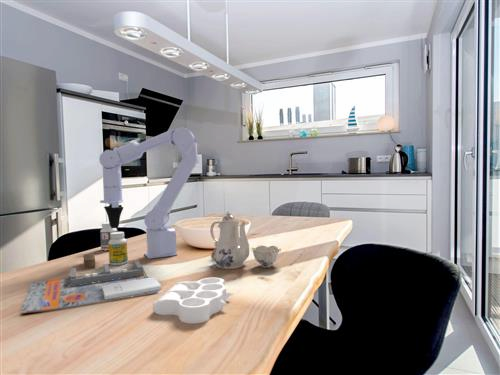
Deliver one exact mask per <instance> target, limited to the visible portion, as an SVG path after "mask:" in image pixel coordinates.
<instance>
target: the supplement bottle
mask: <svg viewBox="0 0 500 375" xmlns="http://www.w3.org/2000/svg"><path fill="white" fill-rule="evenodd" d="M110 237H111V240H110V241H109V243H108V245H109V251H108V257H109V258H108V260H109V262H108V264H109V265H110V266H122V265H126V264H127V263H128V262H129V260H128V259H129V258H128V240H127V239H126V238H125V232H124V231H117V232H113V233H110Z"/></svg>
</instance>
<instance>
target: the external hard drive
mask: <svg viewBox="0 0 500 375" xmlns="http://www.w3.org/2000/svg"><path fill="white" fill-rule="evenodd" d="M158 281H159V280H157V279H156V278H155V276H152V277H146V278H140V279H139V278H138V279H134V280H128V281H121V282H116V283H110V284H104V285H103V284H101V291H102V294H103V298H104V300H110V299H115V298H122V297H128V296H133V295H138V294H144V292H145V293H149V291H150V292H156V291H161V290H162V285H161V283H160V282H158Z"/></svg>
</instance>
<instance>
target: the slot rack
mask: <svg viewBox="0 0 500 375" xmlns="http://www.w3.org/2000/svg"><path fill="white" fill-rule="evenodd" d="M132 264H133V268H134V269H129V270H128V269H127V268H123V269H122V271H115V272H112V271H111V269H110V266H109V265H110V264H109V263H105V264H104V263H103V273H101V274H98V273H97V272H94V273H92V275H91V274H90V273H87V274H85V276H82V277H81V276H79V277H77V268H76V267H72V268H70V287H74V286H73V285H77V286H81V285H80V284H83V285H86V284H85V283H90V284H93V283H92V282H96V283H99V282H98V281H103V282H106V281H105V280H110V281H113V280H112V279H116V280H120V279H119V278H123V279H127V278H126V277H130V278H133V277H132V276H136V277H139V276H138V275H143V276H144V272H145V271H144V267H143V266H142V264H141V262H140V261H139V260H138V259H133V263H132Z"/></svg>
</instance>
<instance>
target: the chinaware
mask: <svg viewBox="0 0 500 375" xmlns="http://www.w3.org/2000/svg"><path fill="white" fill-rule="evenodd" d="M225 214H226V215H223V218H222V219H218V220H217V221H214V222H213V223H212V224H211V225H210V236H211V238H212V239H213V241H215V242H214V246H215V247H214V249H213V251H212V253H211V256H210V257H211V259H212V261H213V262H215V267H216V268H218V269H224V270H232V269H233V270H234V269H239V268H243V267H244V266H245V264H244V263H245V262H246V260H247V259H248V258H249V255H250V251H251V252H252V253H253V256H254V259H255V261H256V262H257V263H258V264H259V265H260V266H259V267H261V268H264V269H267V268H272V267H273V266H274V263H275V262H276V261H277V259H278V256H279V253H280V252H281V250H282V249H281V248H279V247H278V246H276V245H271V246H266V245H258V246H256V247H251V248H250V243H249V240H248V238H247V233H246V230H245V227H246V224H247V222H246V221H242V222H241V223H240V221H241V220H240V219H237V218H236V217H235V216H234V215H232V212H231V211H230V210H227V212H226V213H225ZM216 224H218V225H217V227H218V228H219V237H218V239H217V238H216V236H215V234H214V227H215V225H216ZM239 224H240V226H239Z"/></svg>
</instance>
